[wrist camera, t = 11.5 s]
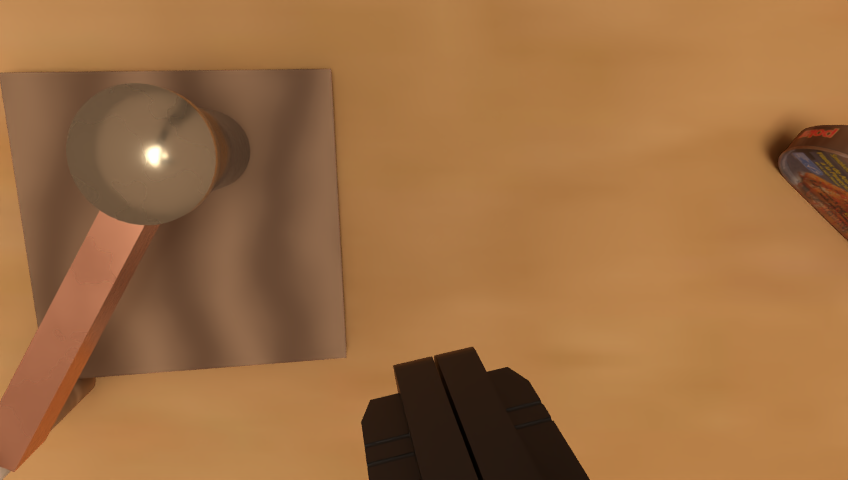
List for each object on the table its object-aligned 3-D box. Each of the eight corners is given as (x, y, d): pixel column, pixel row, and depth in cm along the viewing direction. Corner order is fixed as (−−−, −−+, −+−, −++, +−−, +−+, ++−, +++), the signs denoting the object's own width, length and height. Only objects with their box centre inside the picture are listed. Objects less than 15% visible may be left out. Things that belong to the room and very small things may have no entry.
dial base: (331, 71, 39) (324, 27, 24) (347, 376, 43) (351, 508, 28) (12, 75, 36) (-229, 29, 21) (61, 399, 40) (-113, 561, 25)
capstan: (188, 84, 36) (105, 55, 24) (274, 132, 37) (240, 129, 25) (47, 352, 38) (-100, 459, 25) (134, 390, 39) (35, 511, 26)
